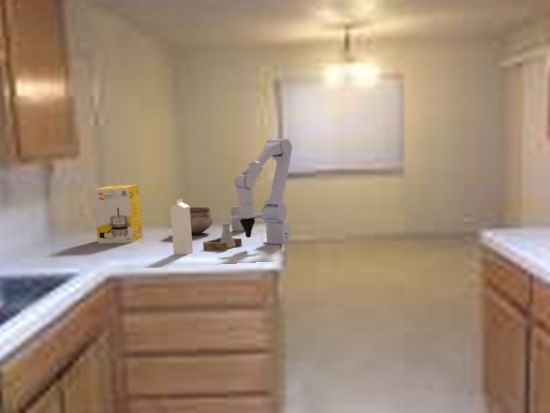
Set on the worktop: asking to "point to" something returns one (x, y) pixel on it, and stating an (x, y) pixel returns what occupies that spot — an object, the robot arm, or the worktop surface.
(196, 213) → the cooking pot
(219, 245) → the box
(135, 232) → the packaging box
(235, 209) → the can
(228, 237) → the flask
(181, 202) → the milk
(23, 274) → the worktop surface
